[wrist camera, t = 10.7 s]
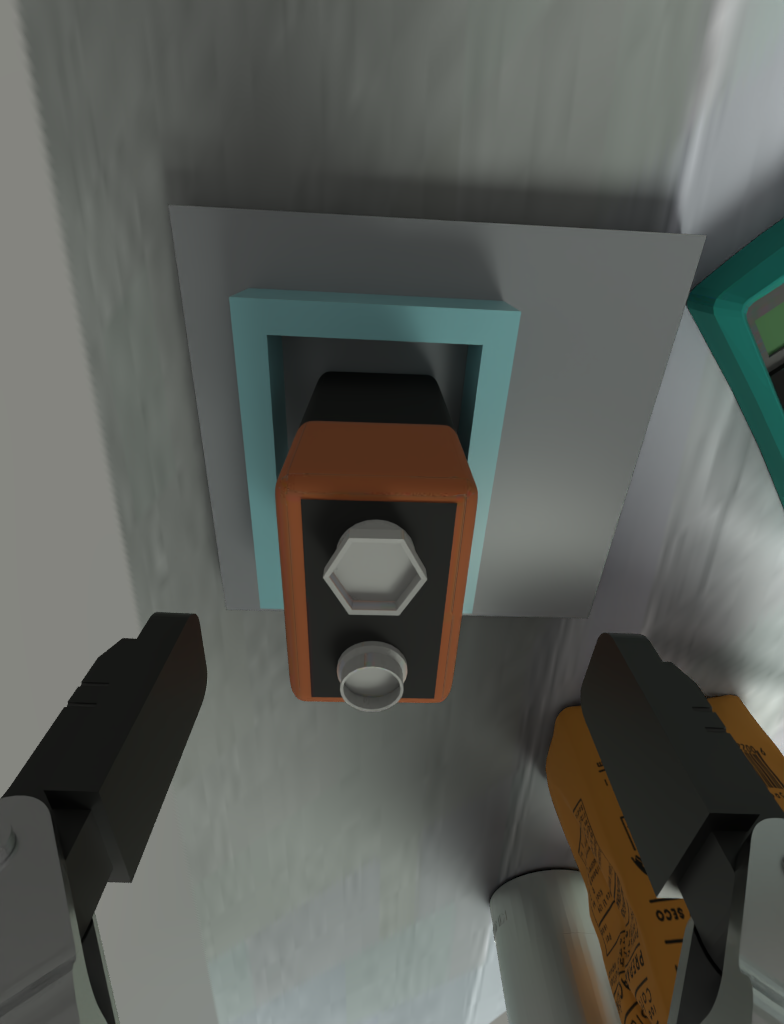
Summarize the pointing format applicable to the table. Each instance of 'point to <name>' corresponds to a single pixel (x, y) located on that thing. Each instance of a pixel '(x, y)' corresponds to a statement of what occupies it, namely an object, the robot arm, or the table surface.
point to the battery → (374, 542)
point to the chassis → (436, 374)
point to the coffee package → (633, 860)
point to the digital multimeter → (750, 337)
